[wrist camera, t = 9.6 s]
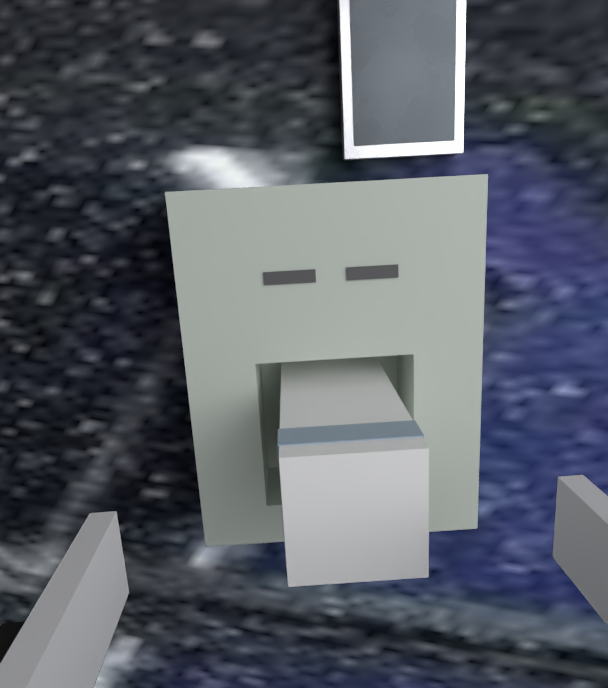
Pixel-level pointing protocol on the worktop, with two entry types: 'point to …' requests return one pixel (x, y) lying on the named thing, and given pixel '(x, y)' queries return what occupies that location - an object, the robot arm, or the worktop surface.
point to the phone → (401, 77)
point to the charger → (350, 475)
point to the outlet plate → (328, 326)
